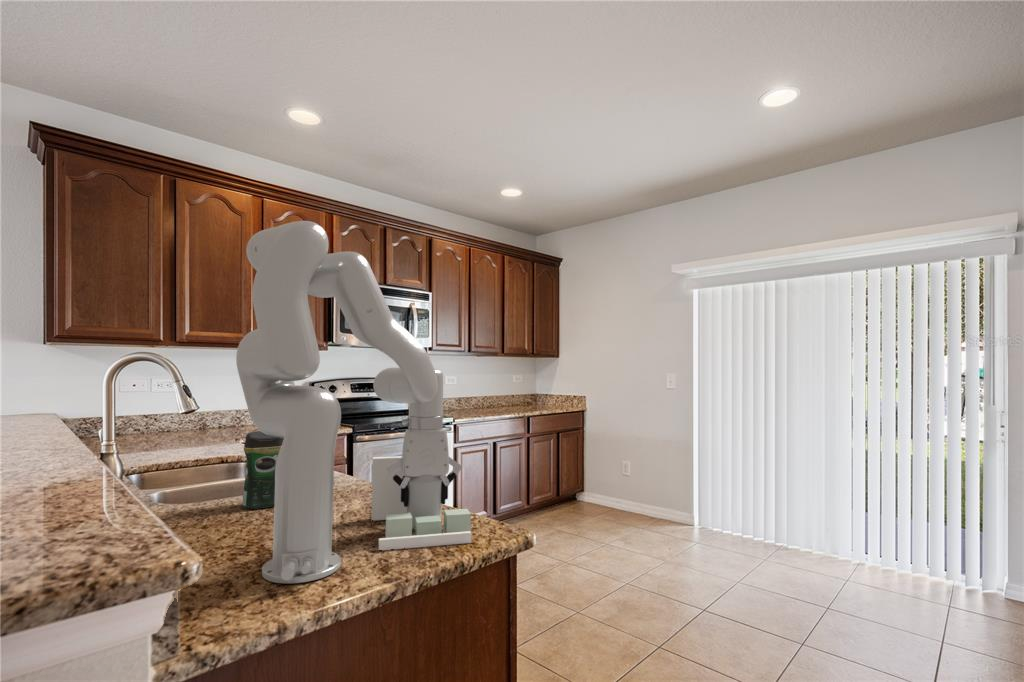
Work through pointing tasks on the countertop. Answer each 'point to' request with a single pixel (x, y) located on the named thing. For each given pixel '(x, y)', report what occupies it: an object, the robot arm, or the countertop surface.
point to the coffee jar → (260, 469)
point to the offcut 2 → (457, 520)
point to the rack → (401, 510)
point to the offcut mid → (428, 525)
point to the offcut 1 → (398, 525)
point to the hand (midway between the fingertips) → (424, 503)
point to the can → (424, 497)
